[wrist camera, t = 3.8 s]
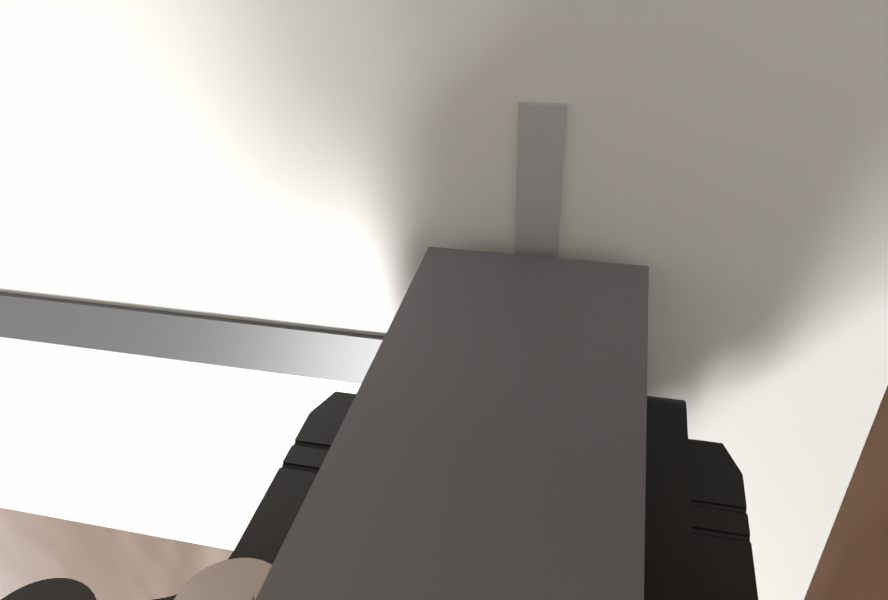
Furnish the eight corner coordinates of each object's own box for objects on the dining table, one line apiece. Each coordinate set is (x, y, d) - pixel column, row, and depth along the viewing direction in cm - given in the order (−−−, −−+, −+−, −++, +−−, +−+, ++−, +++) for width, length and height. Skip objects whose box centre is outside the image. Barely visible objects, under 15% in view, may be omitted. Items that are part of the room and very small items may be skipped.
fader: (648, 265, 10) (643, 737, 5) (613, 517, 13) (587, 976, 8) (429, 246, 11) (231, 648, 6) (441, 490, 13) (317, 900, 8)
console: (951, -68, 10) (1050, -18, 7) (764, 527, 17) (784, 657, 14) (-598, -66, 16) (-827, -39, 14) (-279, 367, 23) (-393, 437, 20)
